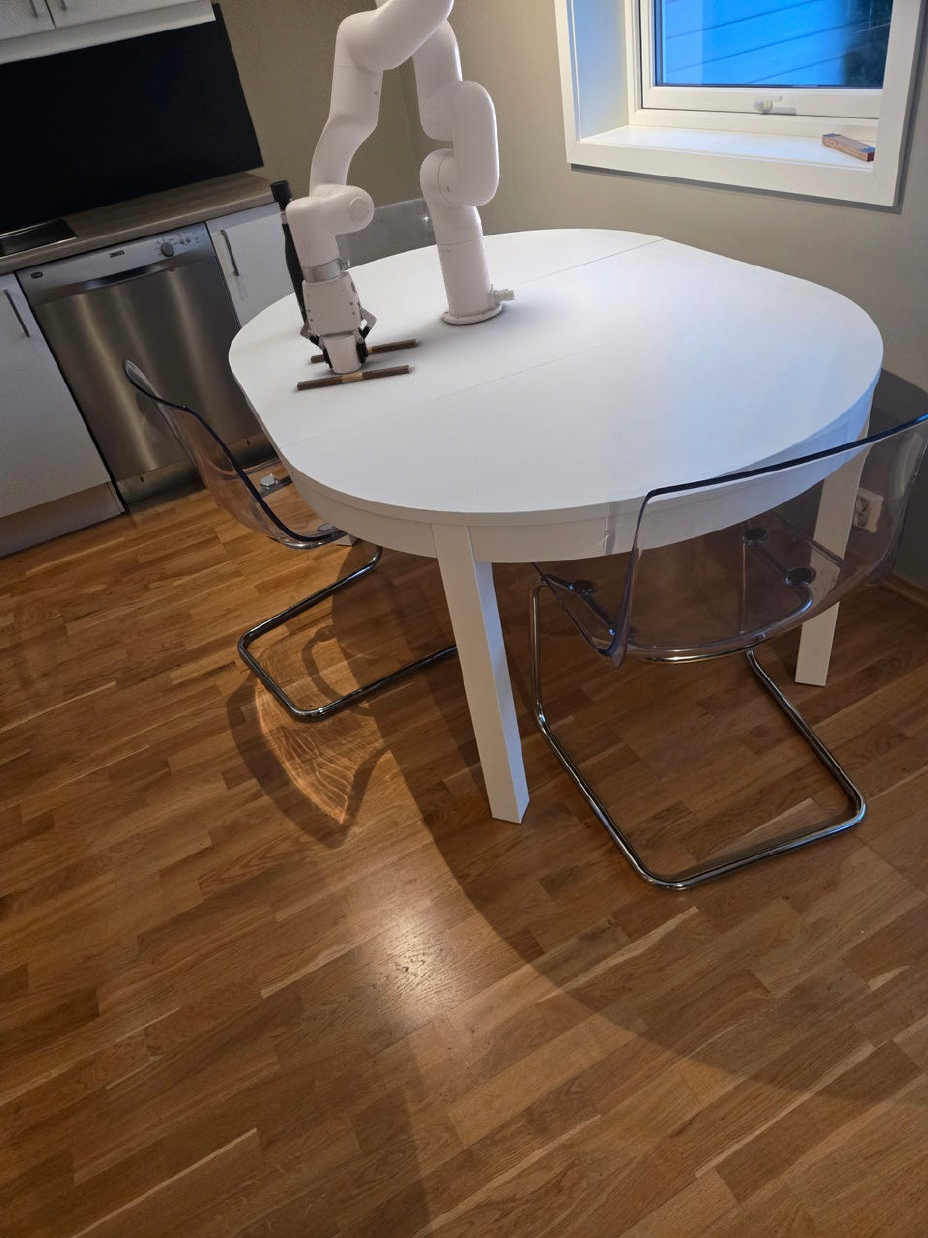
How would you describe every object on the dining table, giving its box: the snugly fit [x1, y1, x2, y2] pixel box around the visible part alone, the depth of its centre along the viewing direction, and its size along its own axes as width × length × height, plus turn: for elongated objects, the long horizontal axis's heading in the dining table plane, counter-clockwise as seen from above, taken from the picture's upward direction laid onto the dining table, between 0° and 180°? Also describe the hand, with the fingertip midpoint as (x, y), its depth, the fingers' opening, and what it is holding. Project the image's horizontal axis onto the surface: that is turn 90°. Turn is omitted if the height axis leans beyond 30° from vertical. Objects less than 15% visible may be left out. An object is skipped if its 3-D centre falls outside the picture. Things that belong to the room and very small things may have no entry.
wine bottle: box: [269, 179, 311, 331], centre depth 190 cm, size 6×6×30 cm
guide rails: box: [296, 338, 417, 391], centre depth 173 cm, size 22×15×1 cm
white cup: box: [323, 331, 362, 374], centre depth 171 cm, size 7×7×7 cm
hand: (348, 362), depth 173 cm, fingers closed on white cup, 5 cm apart
